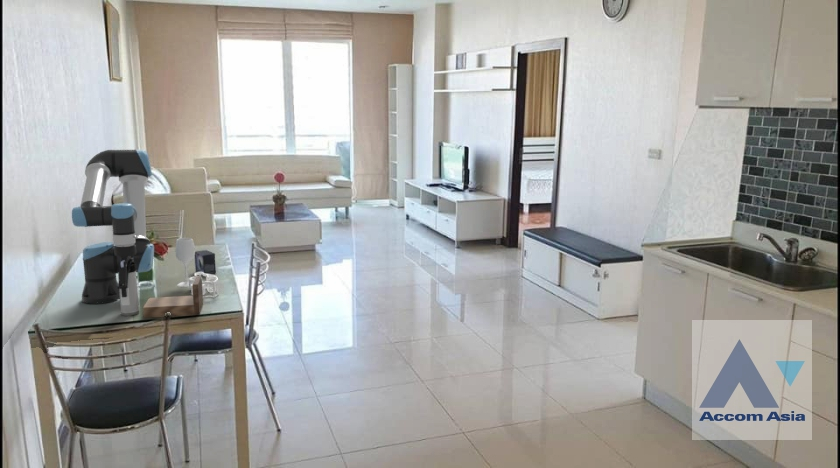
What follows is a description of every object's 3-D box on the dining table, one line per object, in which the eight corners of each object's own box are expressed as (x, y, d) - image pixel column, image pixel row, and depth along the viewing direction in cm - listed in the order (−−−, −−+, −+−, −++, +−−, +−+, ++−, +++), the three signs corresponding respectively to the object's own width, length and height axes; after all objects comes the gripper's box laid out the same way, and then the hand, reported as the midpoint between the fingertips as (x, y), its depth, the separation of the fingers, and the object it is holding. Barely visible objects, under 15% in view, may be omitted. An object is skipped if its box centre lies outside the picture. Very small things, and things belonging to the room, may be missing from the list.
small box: (194, 272, 304) (193, 251, 302) (207, 270, 308) (206, 249, 306) (203, 276, 296) (202, 255, 294) (216, 274, 300) (215, 253, 298)
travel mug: (142, 310, 244) (138, 260, 240) (135, 316, 237) (131, 264, 234) (125, 310, 243) (121, 260, 240) (118, 316, 237) (114, 264, 233)
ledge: (143, 317, 235) (141, 286, 233) (150, 307, 248) (148, 278, 246) (199, 314, 240) (197, 284, 238) (203, 304, 252) (201, 275, 250)
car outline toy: (188, 289, 275) (187, 272, 274) (214, 286, 280) (213, 270, 279) (192, 301, 258) (191, 283, 256) (220, 298, 262) (219, 281, 261)
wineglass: (190, 288, 276) (187, 241, 272) (172, 286, 278) (170, 240, 274) (201, 283, 284) (198, 237, 281) (183, 281, 286) (181, 236, 282)
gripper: (128, 251, 225) (133, 308, 229) (141, 238, 248) (145, 291, 252) (106, 251, 223) (110, 310, 227) (121, 238, 246) (125, 292, 250)
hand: (129, 300), depth 239 cm, fingers open, 12 cm apart
